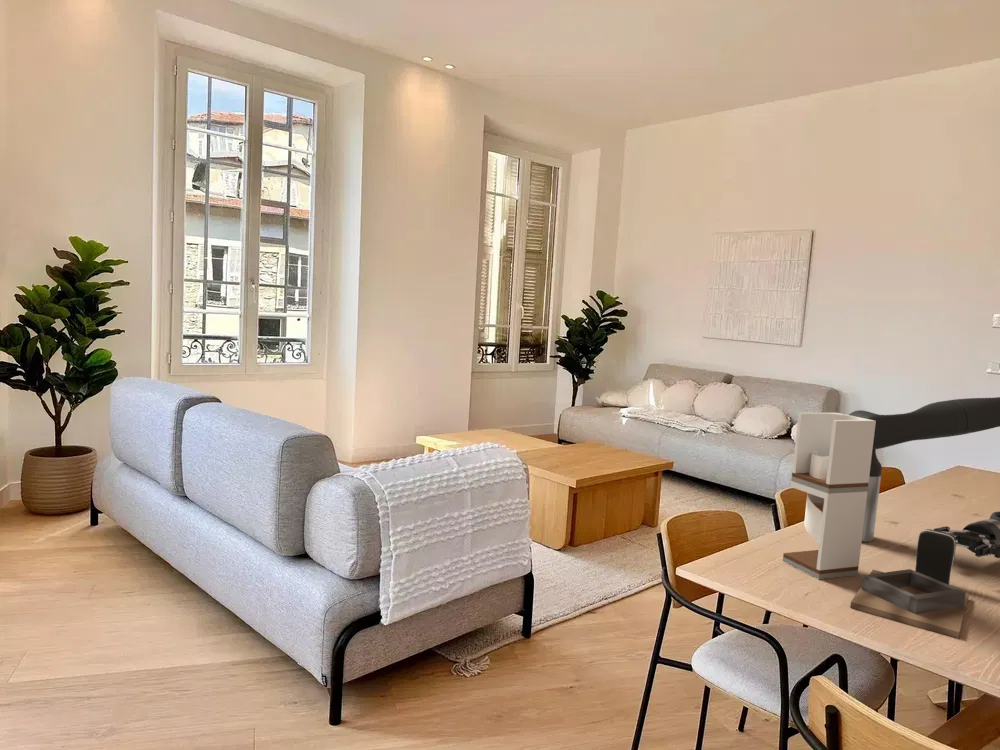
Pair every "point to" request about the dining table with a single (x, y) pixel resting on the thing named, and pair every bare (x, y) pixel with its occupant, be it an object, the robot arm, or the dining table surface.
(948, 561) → the battery charger
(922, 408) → the robot arm
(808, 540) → the dining table surface
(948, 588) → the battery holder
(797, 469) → the white shelf stand
